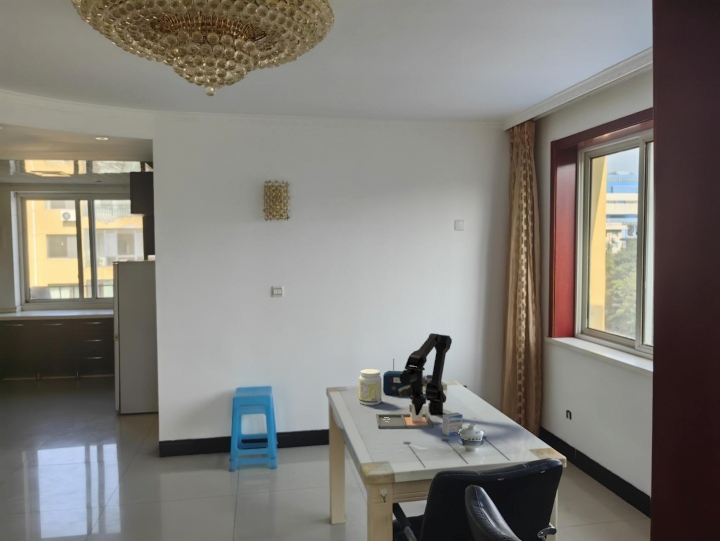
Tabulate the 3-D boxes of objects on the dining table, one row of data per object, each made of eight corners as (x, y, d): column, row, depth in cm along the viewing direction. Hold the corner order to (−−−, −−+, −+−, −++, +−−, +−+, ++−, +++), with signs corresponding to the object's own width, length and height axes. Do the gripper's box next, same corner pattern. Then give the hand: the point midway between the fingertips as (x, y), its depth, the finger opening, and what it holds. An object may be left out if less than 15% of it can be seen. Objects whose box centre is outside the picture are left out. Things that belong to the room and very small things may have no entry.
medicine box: (448, 436, 230) (448, 417, 230) (442, 433, 234) (442, 414, 234) (462, 433, 234) (462, 414, 233) (456, 430, 238) (456, 411, 237)
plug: (420, 418, 250) (421, 401, 250) (422, 421, 246) (422, 404, 246) (409, 418, 250) (409, 401, 250) (410, 421, 246) (410, 404, 246)
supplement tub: (367, 398, 289) (367, 367, 288) (385, 401, 282) (386, 370, 281) (354, 403, 279) (354, 371, 279) (373, 407, 272) (373, 375, 271)
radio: (382, 395, 295) (383, 359, 294) (384, 391, 303) (384, 356, 303) (420, 397, 291) (420, 361, 290) (421, 392, 300) (421, 358, 299)
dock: (427, 416, 257) (427, 413, 257) (433, 428, 240) (433, 425, 240) (375, 417, 256) (375, 414, 256) (378, 429, 239) (378, 425, 239)
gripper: (397, 376, 257) (397, 407, 257) (401, 386, 238) (401, 420, 239) (420, 376, 257) (419, 407, 258) (426, 386, 238) (426, 420, 239)
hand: (416, 413), depth 248 cm, fingers open, 4 cm apart
